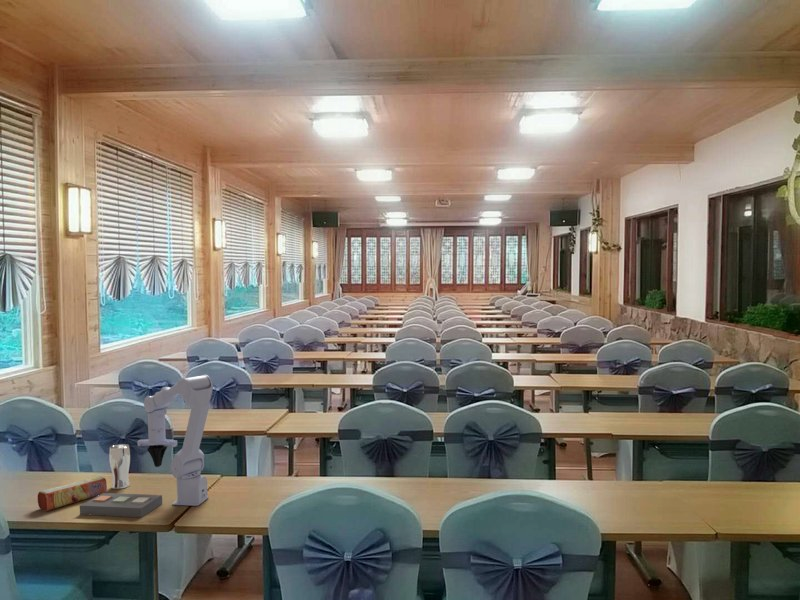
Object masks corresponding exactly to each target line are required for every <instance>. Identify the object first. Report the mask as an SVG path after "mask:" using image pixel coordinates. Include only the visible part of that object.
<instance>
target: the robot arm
mask: <svg viewBox="0 0 800 600" xmlns="http://www.w3.org/2000/svg"><path fill="white" fill-rule="evenodd" d="M213 390H214V384H213V382H212V379H211V377H210V376H209V375H208V374H202V375H197V376H196V375H195V376H190V377H181V378H180V379H177V382H176V383H174V385H172V386H171V387H170V386H163V387H161V390H160V391H156V392H155V393H154V394H153V395H147V396H146V397H145V398H144V399H143V400H144V401H143V407H144V410H145V411H146V412H147V430H148V431H147V433H148V434H147V436H148V438H147V439H139V440H137V441H136V442H137V447H143V446H144V447H148V448H147V452H148V453H149V456H151V459H152V462H153V465H154V467H156V468H157V467H158V468H159V467H161V466H162V463H163V460H164V459H163V458H164V455H165V453H166V451H167V448H168V447H171V448H176V447H178V440H177V439H176V440H175V439H168V438H167V437H166V415H167V409H168V407H169V405H171V404H173V402H175V401H176V400H177V397H178V396H181V399H182V400H183V401H184V403H185V405H186V406H188V407H190V408H191V409H190V412H189V418H188V421H187V426H186V431H185V436H184V440H183V444H182V448H181V449H180V450H179V451H177V452H176V453H175V454H174V457H173V460H171V463H170V473H171V475H172V477H174V478H176V496H177V497H176V498H177V499H176V500H175V501H173V502H172V503H171V504H172V506H193V507H195V506H196V507H197V506H199V505H201V504H202V503H203V502H205V501H206V500H207V499H209V498H210V497H209V496H208V480H207V477H206V476H204V475H201V473H202V471H203V469H204V467H205V461H204V460H205V459H204V458H205V454H204V452H203V451H202V450H201V449H200V447H201V442H202V439H203V434H204V431H205V430H204V429H205V426H206V421H207V417H208V413H209V409H210V401H211V400H212V399H211V398H212V394H213Z"/></svg>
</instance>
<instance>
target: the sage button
mask: <svg viewBox="0 0 800 600" xmlns="http://www.w3.org/2000/svg"><path fill="white" fill-rule="evenodd" d="M130 499H131V497H122V496H120V497H118V498H116V499H114V500H113V501H112V503H124V502H126V501H128V500H130Z"/></svg>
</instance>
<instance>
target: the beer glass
mask: <svg viewBox="0 0 800 600" xmlns="http://www.w3.org/2000/svg"><path fill="white" fill-rule="evenodd" d="M130 451H131V450H130V445H129V444H126V443H123V444H122V443H120V444H115V445H112V446H109V455H108V457H109V459H108V460H109V466H110V471H111V475H112V482H111V489H113V490H122V489H125V488H128V487H129V486H130V485H131V483H130V480H129V478H130V477H129V472H130V471H129V470H130V466H131V452H130Z"/></svg>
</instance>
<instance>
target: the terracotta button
mask: <svg viewBox="0 0 800 600" xmlns="http://www.w3.org/2000/svg"><path fill="white" fill-rule="evenodd" d="M111 498H112V496H100V497H98V498H96V499H94V500H93V502H106V501H108V500H109V499H111Z"/></svg>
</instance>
